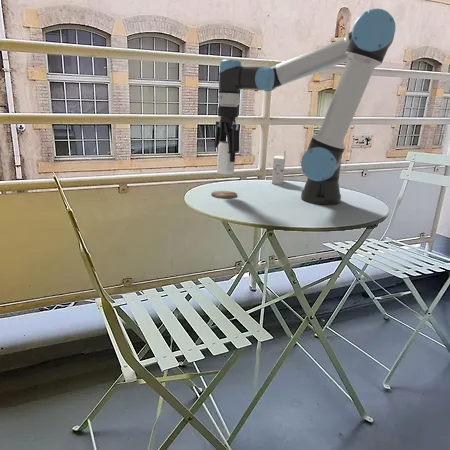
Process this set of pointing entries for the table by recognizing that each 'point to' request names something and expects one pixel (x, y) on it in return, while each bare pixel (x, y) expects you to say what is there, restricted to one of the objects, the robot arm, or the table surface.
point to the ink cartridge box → (278, 169)
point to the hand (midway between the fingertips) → (225, 168)
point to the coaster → (224, 194)
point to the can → (223, 159)
